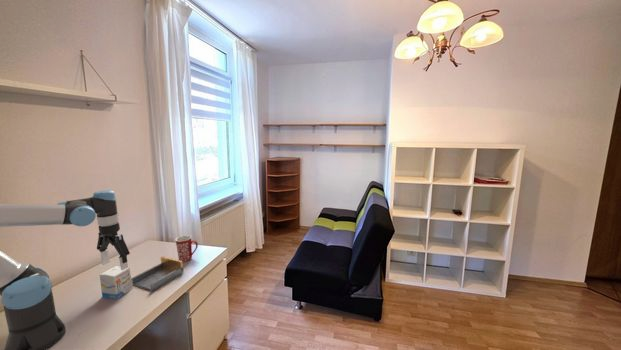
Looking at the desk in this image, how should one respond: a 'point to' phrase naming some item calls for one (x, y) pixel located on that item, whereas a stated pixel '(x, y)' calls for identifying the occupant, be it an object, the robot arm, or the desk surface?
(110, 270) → the ink box
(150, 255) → the desk surface
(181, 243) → the mug
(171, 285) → the desk surface
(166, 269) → the grey open box
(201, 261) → the desk surface
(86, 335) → the desk surface
